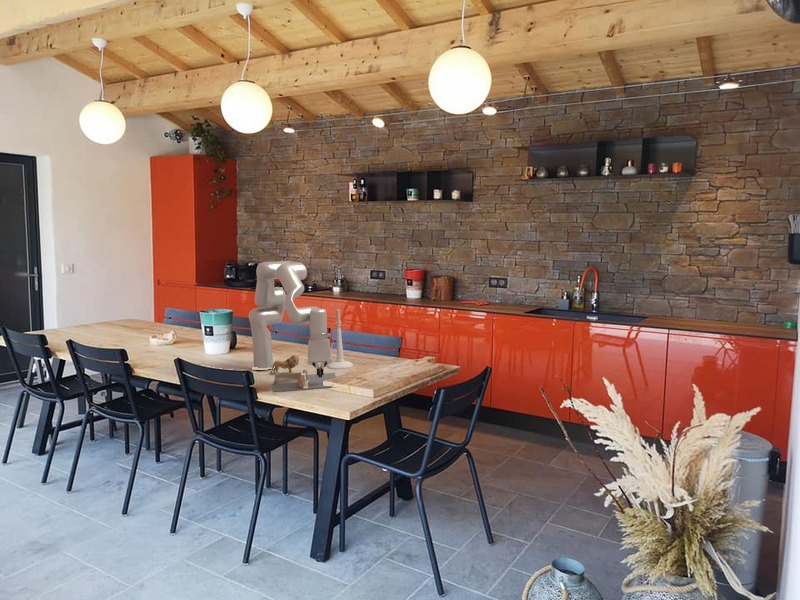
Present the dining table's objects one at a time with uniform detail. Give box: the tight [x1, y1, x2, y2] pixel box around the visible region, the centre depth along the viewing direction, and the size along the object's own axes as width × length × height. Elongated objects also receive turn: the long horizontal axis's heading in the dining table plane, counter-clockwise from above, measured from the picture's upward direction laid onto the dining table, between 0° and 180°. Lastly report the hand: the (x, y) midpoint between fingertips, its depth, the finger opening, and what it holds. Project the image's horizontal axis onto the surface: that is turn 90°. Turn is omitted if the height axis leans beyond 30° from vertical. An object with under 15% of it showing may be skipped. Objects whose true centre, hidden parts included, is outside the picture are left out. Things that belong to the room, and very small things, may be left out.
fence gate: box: [298, 372, 306, 388], centre depth 259 cm, size 12×2×5 cm, turn 0°
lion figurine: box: [269, 354, 300, 374], centre depth 285 cm, size 15×5×9 cm, turn 97°
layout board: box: [272, 372, 337, 393], centre depth 266 cm, size 26×28×1 cm
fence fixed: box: [273, 369, 308, 383], centre depth 265 cm, size 2×15×5 cm, turn 100°
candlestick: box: [327, 308, 354, 370], centre depth 296 cm, size 13×13×30 cm
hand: (320, 376), depth 259 cm, fingers closed
